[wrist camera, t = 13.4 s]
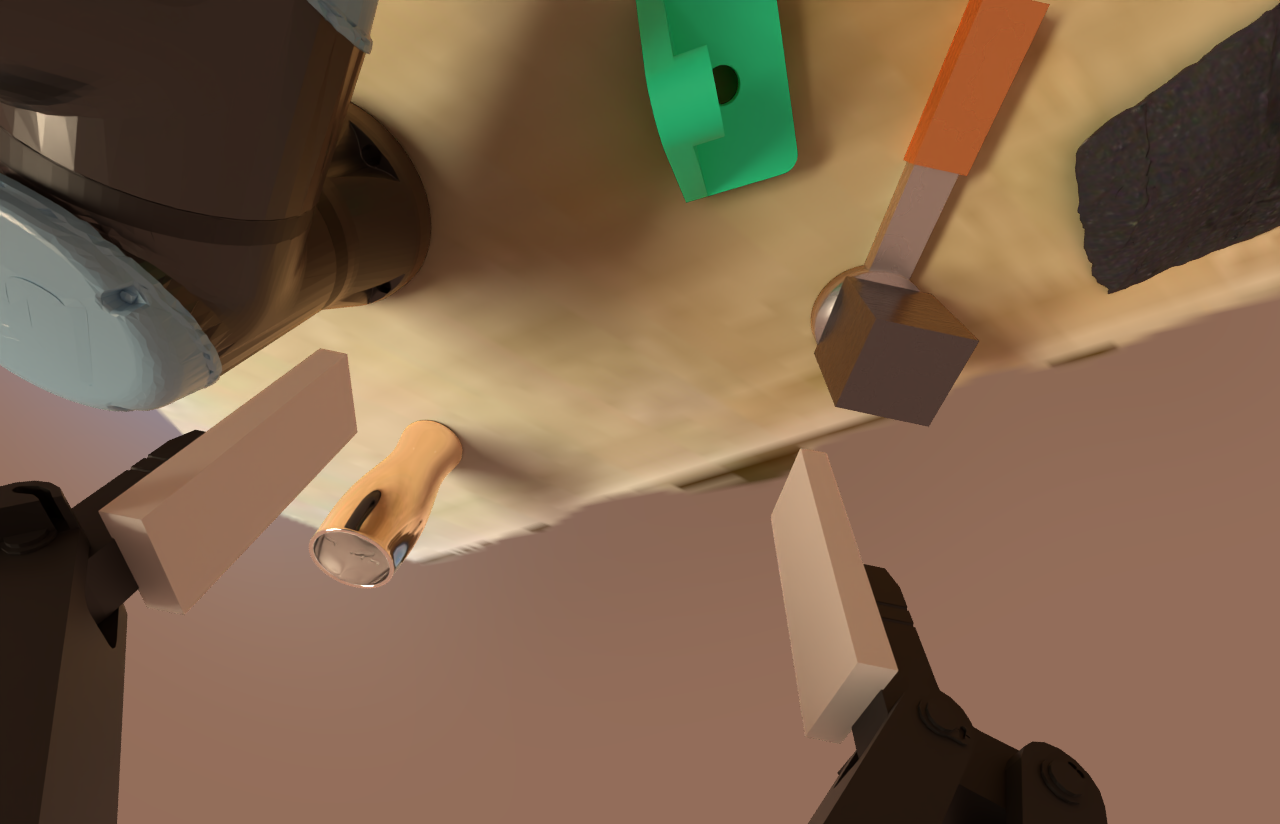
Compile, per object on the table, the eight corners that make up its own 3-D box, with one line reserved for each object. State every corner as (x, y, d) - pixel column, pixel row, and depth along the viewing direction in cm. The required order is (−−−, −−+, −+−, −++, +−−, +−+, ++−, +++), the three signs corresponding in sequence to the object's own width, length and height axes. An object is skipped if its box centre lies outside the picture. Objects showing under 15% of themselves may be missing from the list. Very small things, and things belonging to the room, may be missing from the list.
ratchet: (890, 368, 45) (919, 414, 39) (796, 349, 44) (811, 391, 39) (1067, 16, 32) (1151, 3, 26) (935, -14, 31) (989, -33, 26)
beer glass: (471, 475, 55) (403, 595, 43) (405, 468, 56) (318, 585, 43) (463, 419, 52) (386, 532, 39) (392, 412, 52) (293, 522, 39)
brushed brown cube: (814, 353, 42) (835, 406, 36) (845, 275, 39) (876, 318, 32) (892, 370, 42) (928, 426, 36) (931, 294, 39) (979, 340, 32)
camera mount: (794, 163, 37) (822, 191, 29) (686, 195, 39) (683, 230, 30) (763, -53, 31) (787, -99, 23) (639, -4, 33) (617, -29, 24)
